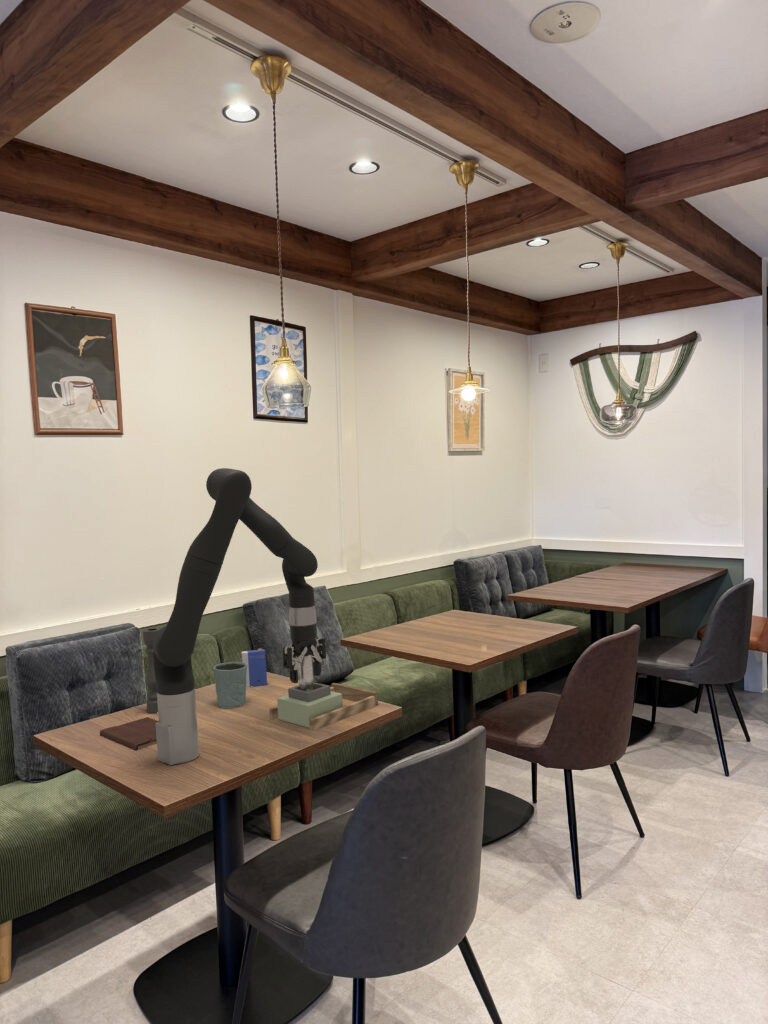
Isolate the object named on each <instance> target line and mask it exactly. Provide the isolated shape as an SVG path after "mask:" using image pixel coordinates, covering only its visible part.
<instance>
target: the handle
mask: <svg viewBox="0 0 768 1024" xmlns="http://www.w3.org/2000/svg"><path fill="white" fill-rule="evenodd" d="M297 670H298V685H299V687H300V690H304V691H308V692H309V691H312V690H314V673H313V660H312V654H310V655H307V656H304V657H303V659H302V662H301V663H299V665H298V668H297Z"/></svg>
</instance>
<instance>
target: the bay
mask: <svg viewBox="0 0 768 1024" xmlns="http://www.w3.org/2000/svg"><path fill="white" fill-rule="evenodd" d="M330 691H332V692H336V693H341V694H342V700H348V701H352V703H350V704H347V705H343V707H341V708H339V709H336V710H333V711H331V712H328V713H326V714H323V715H320V716H318V717H315V718H313V719H310V728H309V730H310V731H311V732H315V731H317V730H319V729H322V728H325V727H326V726H327V727H328V726H329V725H331V724H334V723H336V722H339V721H342V720H343V719H346V718H348V717H351V716H354V715H357V714H358V713H359V714H360V713H361V712H363V711H366V710H369V709H371V708H374V707H376V706H378V705H379V697H378V691H374V690H371V689H365V688H361V687H360V688H359V687H356V686H351V685H345V684H341V683H336V682H332V683H331V685H330ZM268 710H269V719H270V720H274V719H278V706H277V705H276V706H273V707H271V708H269V709H268Z"/></svg>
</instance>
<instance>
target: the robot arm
mask: <svg viewBox="0 0 768 1024" xmlns="http://www.w3.org/2000/svg"><path fill="white" fill-rule="evenodd" d="M205 482H206V485H205V487H206V491H207V493H208V495H209V497H210V498H211V499H213V500H214V501H215V503H214V507H213V510H212V512H211V515H210V517H209V518H208V521H207V523H206V524H205V526H204V527H203V528H202V529H201V531H199V533H198V534H197V535H196V537H195V538H194V539H193V541H192V542H191V544H190V546H189V547H188V550H187V552H186V555H185V557H184V559H183V560H184V561H183V563H182V565H181V570H180V574H179V577H178V583H177V586H176V587H177V589H176V595H175V602H174V605H173V609H172V611H171V615H170V617H169V619H168V621H167V624H166V625H165V626H163V627H160V628H161V629H160V630H159V631H158V632H157V633H156V634H155V636H154V639H153V659H154V672H155V680H156V687H157V701H158V713H157V714H158V721H159V722H157V723H156V739H157V744H156V752H157V753H156V754H157V761H159V762H162V763H164V764H167V765H169V766H173V765H177V764H184V763H188V762H191V761H193V760H195V759H197V758H198V757H199V756H200V745H199V731H198V718H197V717H198V716H197V714H198V713H197V698H196V697H197V696H196V683H195V675H194V672H193V671H194V670H193V664H192V656H193V653H194V651H195V646H196V641H197V639H198V638H197V637H198V633H199V629H200V626H201V621H202V619H203V615H204V612H205V610H206V607H207V606H208V603H209V601H210V598H211V596H212V593H213V591H214V588H215V586H216V583H217V581H218V578H219V575H220V573H221V570H222V566H223V564H224V561H225V557H226V554H227V552H228V550H229V549H228V548H229V546H230V543H231V541H232V539H233V535H234V532H235V529H236V527H237V525H238V523H239V520H240V522H241V523H243V525H245V526H246V528H247V529H249V530H250V532H252V533H253V535H255V536H256V537H257V539H259V541H260V542H261V543H262V544H263V545H264V546H265V547H266V548H267V549H268V550H269V552H271V554H273V555H274V556H275V557H278V558H279V559H280V558H281V559H282V563H281V569H282V570H281V571H282V574H283V578H284V581H285V585H286V589H287V590H288V602H289V611H288V612H289V615H288V617H289V632H290V633H289V636H290V637H289V638H290V640H291V641H292V643H291V646H283V647H282V667H283V668H284V669H286V670H289V680H290V681H291V683H293V684H297V683H298V684H299V670H298V665H299V663H301V662H302V659H303V657H304V656H307V655H310V654H312V665H313V676H315V677H320V676H321V673H322V662H323V660H325V659H326V658H327V650H326V639H325V638H323V637H318V627H317V626H318V624H317V623H318V622H317V611H316V605H315V604H316V603H315V591H314V587H313V586H312V585H311V584H309V583H307V582H306V578H308V577H312V576H313V575H314V574H316V572H317V570H318V567H319V564H318V560H317V557H316V555H315V554H314V553H313V551H311V549H309V547H307V546H306V545H304V544H303V543H301V541H300V542H299V541H298V540H297V539H295V538H294V537H293V536H292V535H291V533H289V531H288V530H287V529H286V528H285V527H284V526H283V525H282V524H281V523H280V522H279V521H278V520H277V519H276V518H275V517H274V516H272V515H271V514H270V513H269V512H267V511H266V510H264V509H263V508H262V507H260V506H259V505H258V504H257V503H256V502H255V501H253V499H252V498H251V494H252V481H251V477H250V476H249V474H247V473H246V472H245V471H242V470H241V469H235V468H226V467H223V468H222V467H221V468H217V469H214V470H213V471H212V472H211V473H210V474H209V475H208V476H207V479H206V481H205Z"/></svg>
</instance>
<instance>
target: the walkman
mask: <svg viewBox="0 0 768 1024" xmlns="http://www.w3.org/2000/svg"><path fill="white" fill-rule="evenodd" d="M266 656H267V655H266V649H264V648H257V649H254V650H253V649H252V650H244V651H241V662H242V663H246V664H247V673H246V688H252V687H251V686H254V687H260V685H262V686H267V685H268V677H267V676H268V674H267V660H266V659H267V657H266Z"/></svg>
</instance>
